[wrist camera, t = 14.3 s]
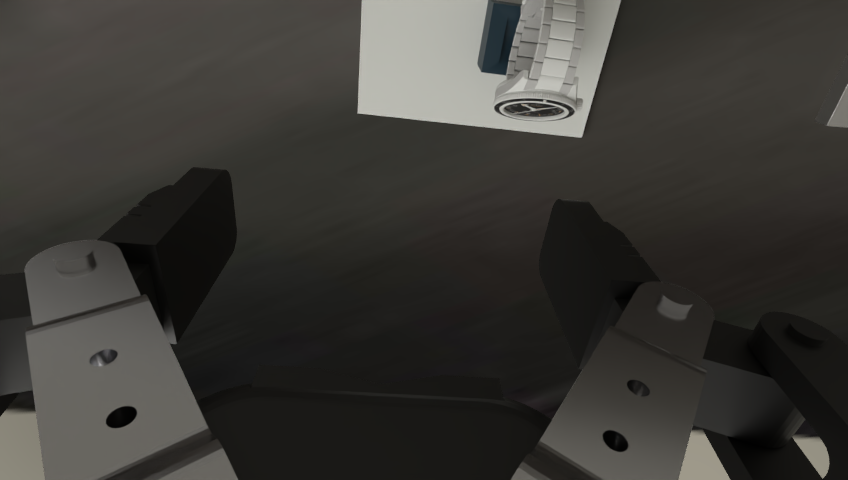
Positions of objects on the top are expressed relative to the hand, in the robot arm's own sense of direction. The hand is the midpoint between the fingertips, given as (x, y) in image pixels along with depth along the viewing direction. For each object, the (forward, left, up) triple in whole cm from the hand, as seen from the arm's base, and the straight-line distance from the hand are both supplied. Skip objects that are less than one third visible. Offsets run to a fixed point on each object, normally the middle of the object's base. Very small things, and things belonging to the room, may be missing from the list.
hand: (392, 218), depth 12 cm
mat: (+5, +2, -27) cm, 28 cm away
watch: (+7, +2, -27) cm, 28 cm away
